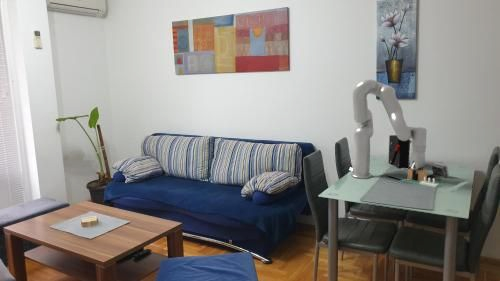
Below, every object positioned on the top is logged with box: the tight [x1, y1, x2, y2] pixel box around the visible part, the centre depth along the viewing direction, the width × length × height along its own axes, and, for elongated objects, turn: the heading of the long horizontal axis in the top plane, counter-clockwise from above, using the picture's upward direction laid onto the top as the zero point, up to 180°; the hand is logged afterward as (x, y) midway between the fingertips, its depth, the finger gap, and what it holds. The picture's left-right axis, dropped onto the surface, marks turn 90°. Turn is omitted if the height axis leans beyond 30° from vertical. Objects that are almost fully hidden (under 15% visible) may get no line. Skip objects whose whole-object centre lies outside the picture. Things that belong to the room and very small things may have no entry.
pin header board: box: [398, 176, 448, 189], centre depth 225 cm, size 22×14×6 cm, turn 40°
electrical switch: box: [431, 162, 450, 178], centre depth 237 cm, size 9×5×9 cm, turn 20°
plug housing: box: [407, 168, 428, 181], centre depth 231 cm, size 10×4×6 cm, turn 40°
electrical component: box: [388, 134, 412, 170], centre depth 270 cm, size 18×10×20 cm, turn 179°
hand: (417, 178), depth 231 cm, fingers closed on plug housing, 4 cm apart
